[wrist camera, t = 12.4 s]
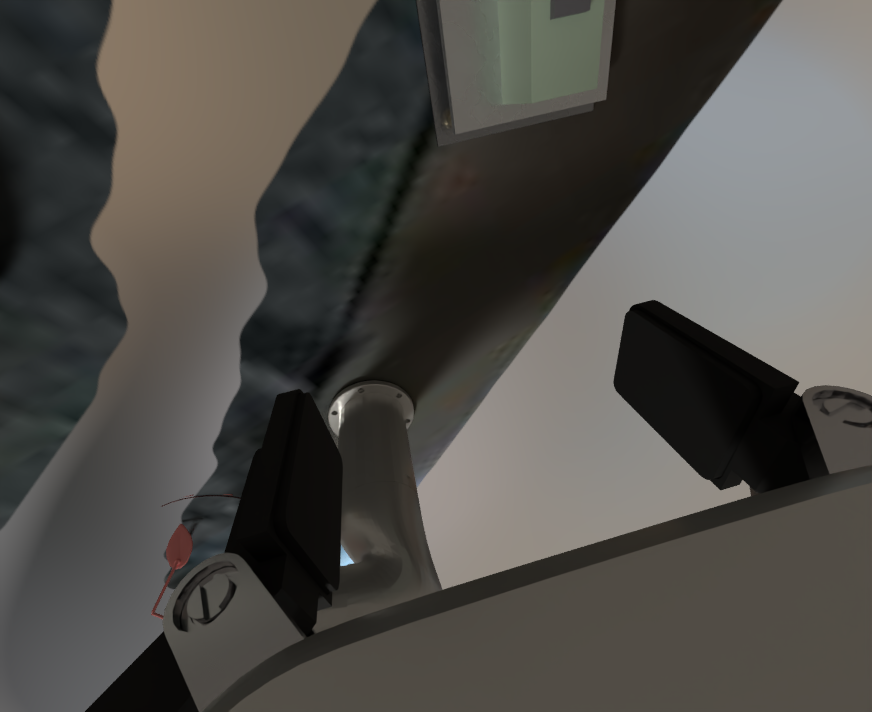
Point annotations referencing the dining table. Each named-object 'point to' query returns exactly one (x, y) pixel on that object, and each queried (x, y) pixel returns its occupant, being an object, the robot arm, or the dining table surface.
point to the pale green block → (548, 48)
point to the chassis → (486, 72)
